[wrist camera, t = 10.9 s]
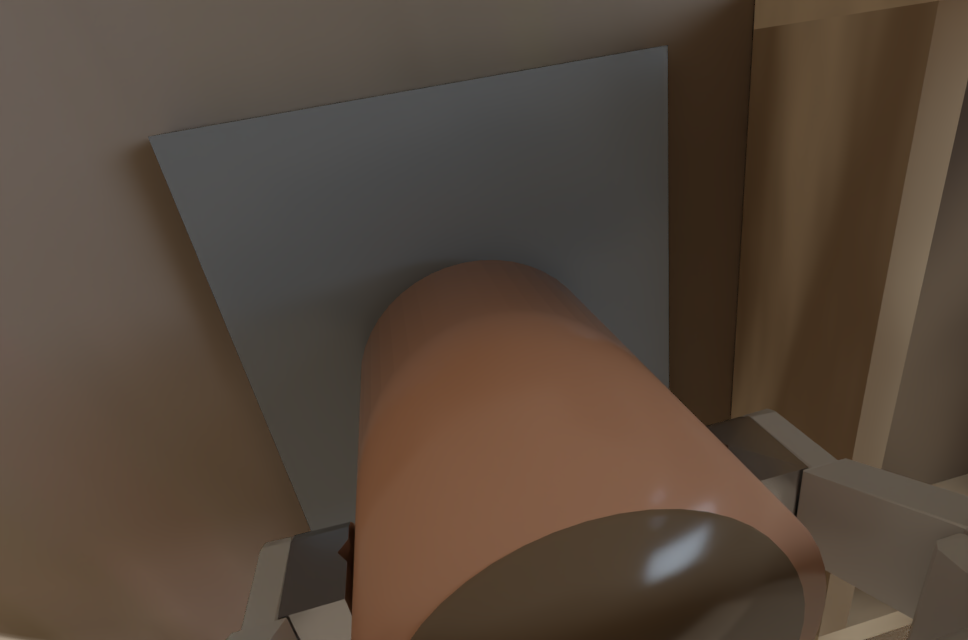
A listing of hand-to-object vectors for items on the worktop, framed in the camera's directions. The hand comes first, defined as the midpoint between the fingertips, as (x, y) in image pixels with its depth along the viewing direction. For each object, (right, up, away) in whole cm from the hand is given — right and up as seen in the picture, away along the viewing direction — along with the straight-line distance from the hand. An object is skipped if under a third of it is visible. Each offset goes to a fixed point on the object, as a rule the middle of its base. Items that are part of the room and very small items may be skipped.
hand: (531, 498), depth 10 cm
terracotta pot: (-1, +2, +4) cm, 5 cm away
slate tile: (-1, +3, +6) cm, 7 cm away
